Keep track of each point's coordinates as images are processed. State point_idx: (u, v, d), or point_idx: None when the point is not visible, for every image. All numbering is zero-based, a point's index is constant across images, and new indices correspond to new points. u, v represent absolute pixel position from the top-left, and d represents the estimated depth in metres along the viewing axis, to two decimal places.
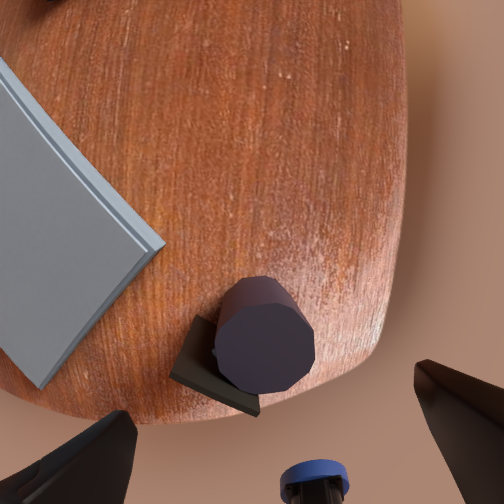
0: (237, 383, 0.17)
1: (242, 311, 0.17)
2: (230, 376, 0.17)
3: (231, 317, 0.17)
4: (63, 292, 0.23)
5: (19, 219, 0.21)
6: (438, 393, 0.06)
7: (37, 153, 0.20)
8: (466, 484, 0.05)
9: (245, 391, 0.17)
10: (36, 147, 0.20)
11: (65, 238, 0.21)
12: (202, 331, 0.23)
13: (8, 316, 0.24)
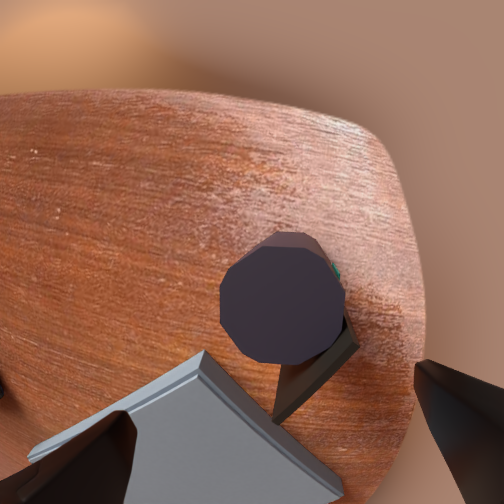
0: (319, 349, 0.14)
1: (225, 325, 0.14)
2: (307, 354, 0.14)
3: (232, 337, 0.14)
4: (234, 454, 0.23)
5: (165, 467, 0.24)
6: (438, 393, 0.06)
7: None
8: (466, 484, 0.05)
9: (333, 341, 0.14)
10: None
11: (182, 438, 0.22)
12: None
13: (258, 502, 0.25)
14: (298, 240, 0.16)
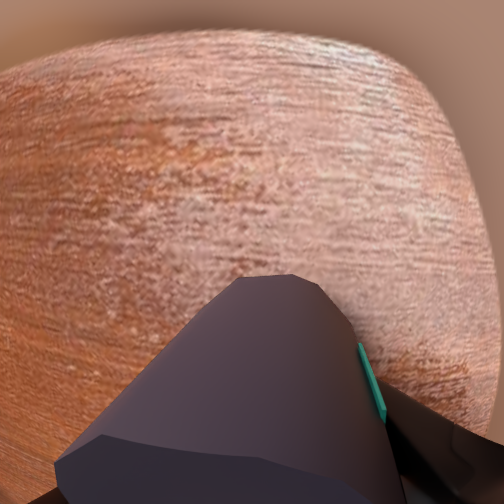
0: None
1: None
2: None
3: None
4: None
5: None
6: None
7: None
8: None
9: None
10: None
11: None
12: None
13: None
14: (264, 339, 0.05)
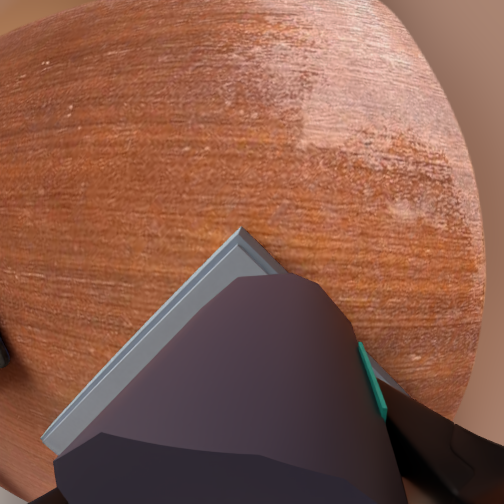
0: None
1: None
2: None
3: None
4: None
5: None
6: None
7: (131, 375, 0.21)
8: None
9: None
10: (125, 375, 0.21)
11: None
12: None
13: None
14: (264, 337, 0.05)
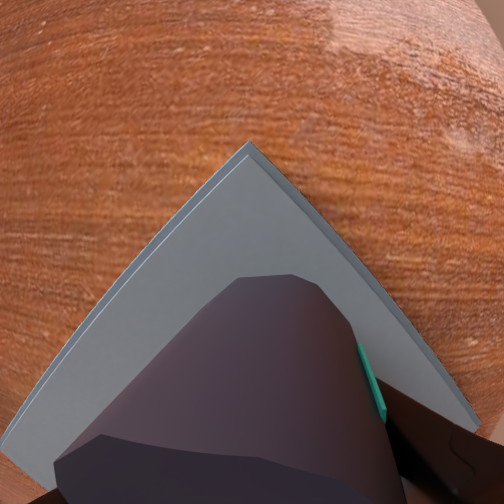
0: None
1: None
2: None
3: None
4: None
5: None
6: None
7: (88, 367, 0.14)
8: None
9: None
10: (80, 367, 0.14)
11: None
12: None
13: None
14: (264, 339, 0.05)
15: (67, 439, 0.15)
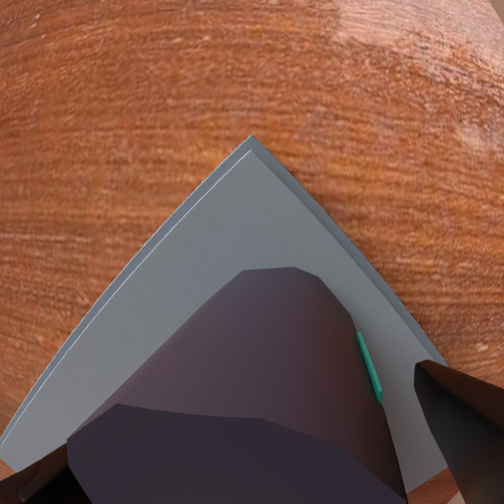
0: None
1: None
2: None
3: None
4: None
5: None
6: (438, 393, 0.06)
7: (82, 375, 0.13)
8: (466, 484, 0.05)
9: None
10: (74, 375, 0.13)
11: None
12: None
13: None
14: (267, 322, 0.06)
15: None
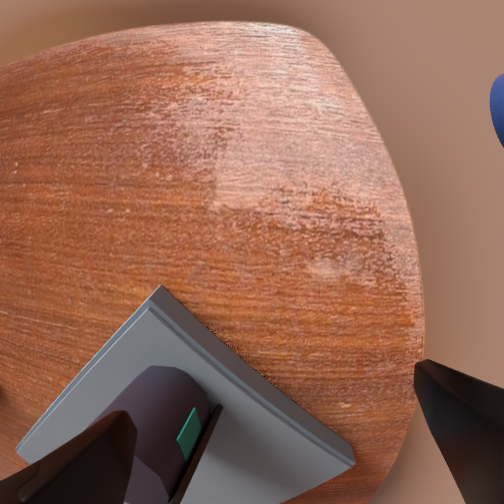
0: None
1: None
2: None
3: None
4: None
5: None
6: (438, 393, 0.06)
7: (78, 406, 0.21)
8: (466, 484, 0.05)
9: (167, 502, 0.12)
10: (73, 405, 0.21)
11: None
12: None
13: (253, 479, 0.22)
14: (135, 409, 0.14)
15: None
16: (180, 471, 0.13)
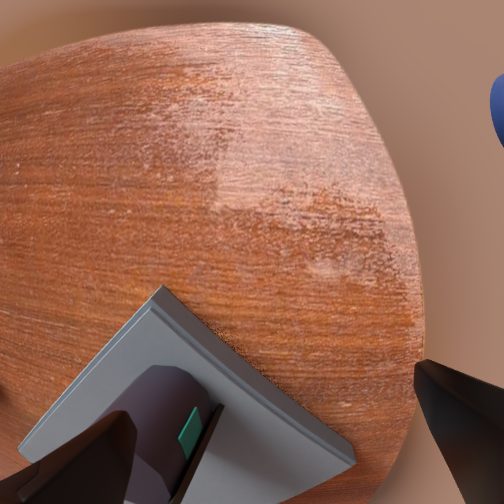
0: (159, 502, 0.12)
1: None
2: (153, 503, 0.12)
3: None
4: None
5: None
6: (438, 393, 0.06)
7: (80, 405, 0.21)
8: (466, 484, 0.05)
9: (168, 500, 0.12)
10: (75, 405, 0.21)
11: None
12: None
13: (254, 477, 0.22)
14: (137, 408, 0.14)
15: None
16: (181, 470, 0.14)
